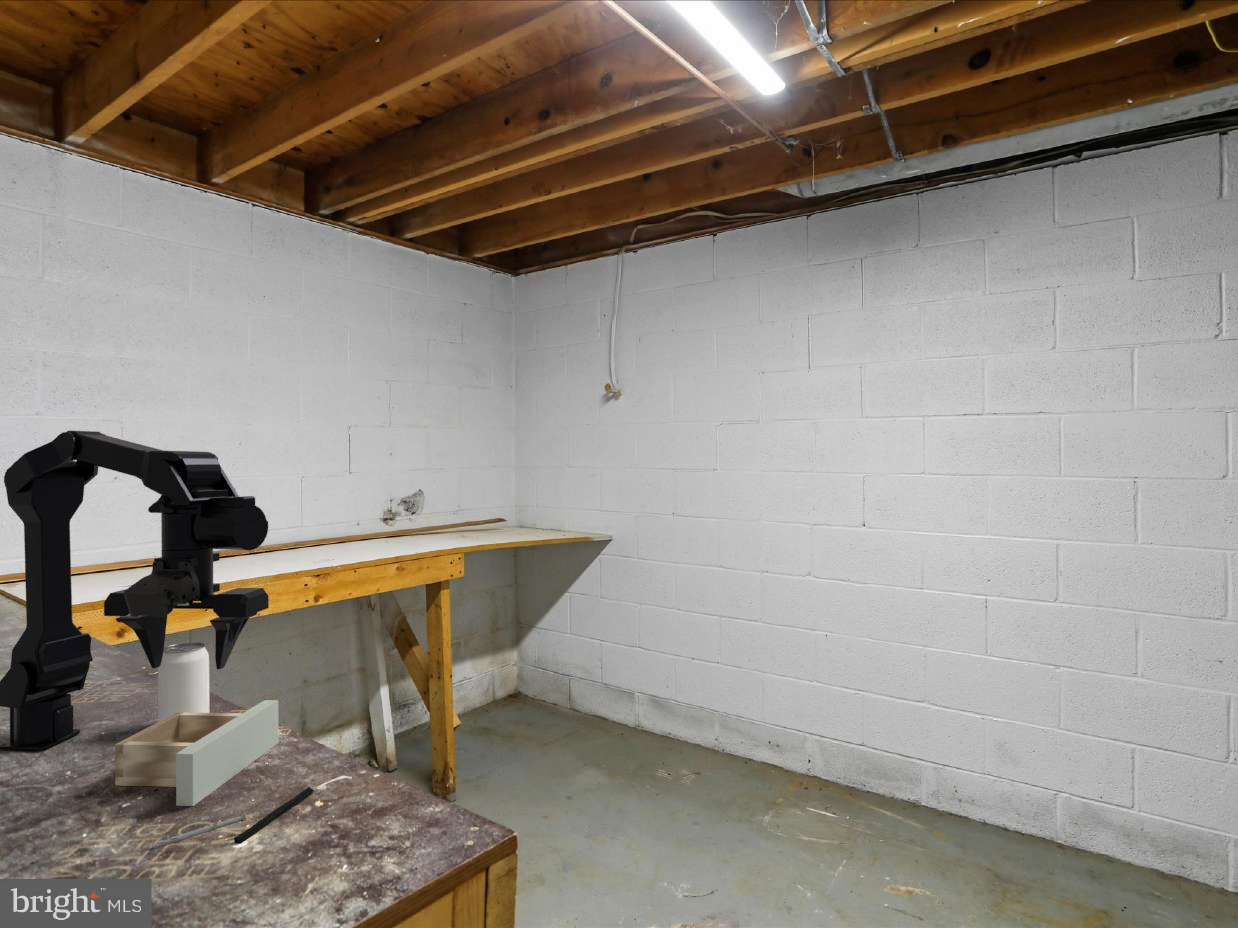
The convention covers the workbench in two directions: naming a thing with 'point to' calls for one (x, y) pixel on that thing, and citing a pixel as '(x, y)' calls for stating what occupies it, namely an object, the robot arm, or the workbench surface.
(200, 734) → the wooden drawer box
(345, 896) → the workbench surface
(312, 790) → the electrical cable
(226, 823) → the grey thin rod
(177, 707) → the can
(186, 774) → the panel
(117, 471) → the robot arm
